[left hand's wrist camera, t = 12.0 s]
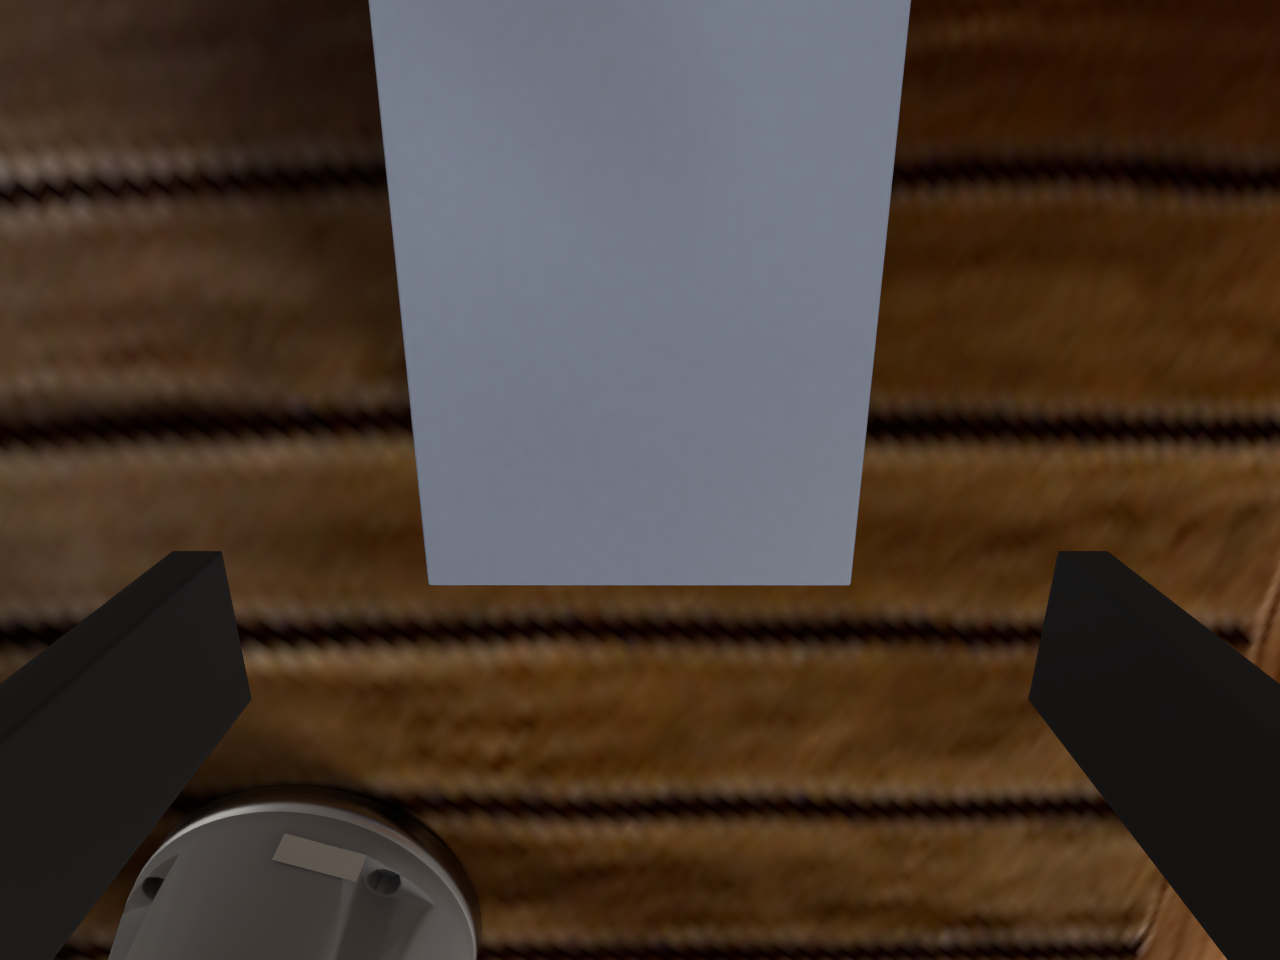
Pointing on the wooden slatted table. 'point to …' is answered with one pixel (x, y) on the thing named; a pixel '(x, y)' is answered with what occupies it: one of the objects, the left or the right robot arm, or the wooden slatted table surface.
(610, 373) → the cabinet
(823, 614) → the wooden slatted table surface
